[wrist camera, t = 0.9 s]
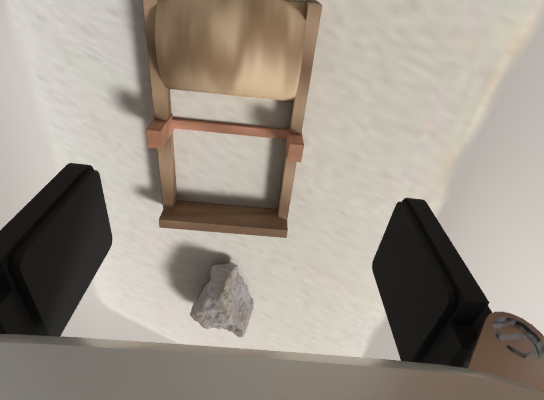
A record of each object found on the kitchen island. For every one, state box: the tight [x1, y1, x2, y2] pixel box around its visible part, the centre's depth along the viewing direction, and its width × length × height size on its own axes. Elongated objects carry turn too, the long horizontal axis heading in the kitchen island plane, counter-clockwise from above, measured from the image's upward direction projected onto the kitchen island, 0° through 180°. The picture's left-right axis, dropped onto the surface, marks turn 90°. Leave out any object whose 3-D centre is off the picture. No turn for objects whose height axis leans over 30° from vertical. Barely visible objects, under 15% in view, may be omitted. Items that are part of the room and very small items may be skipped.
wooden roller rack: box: [143, 0, 322, 238], centre depth 32 cm, size 21×13×9 cm, turn 174°
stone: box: [190, 263, 254, 337], centre depth 42 cm, size 8×10×6 cm
